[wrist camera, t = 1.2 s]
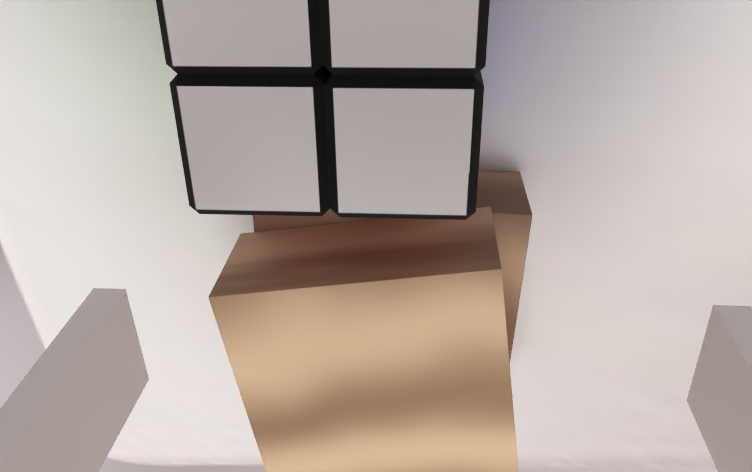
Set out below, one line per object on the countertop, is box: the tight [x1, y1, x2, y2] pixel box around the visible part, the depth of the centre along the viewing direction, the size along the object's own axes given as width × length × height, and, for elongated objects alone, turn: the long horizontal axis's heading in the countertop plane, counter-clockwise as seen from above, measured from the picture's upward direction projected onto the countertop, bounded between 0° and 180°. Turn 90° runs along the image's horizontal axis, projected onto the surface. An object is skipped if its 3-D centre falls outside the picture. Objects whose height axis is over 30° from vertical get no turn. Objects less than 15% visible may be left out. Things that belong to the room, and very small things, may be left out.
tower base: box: [253, 170, 532, 364], centre depth 34 cm, size 12×12×5 cm
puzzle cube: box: [156, 0, 489, 220], centre depth 25 cm, size 10×10×10 cm
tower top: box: [209, 207, 518, 472], centre depth 30 cm, size 11×11×5 cm
